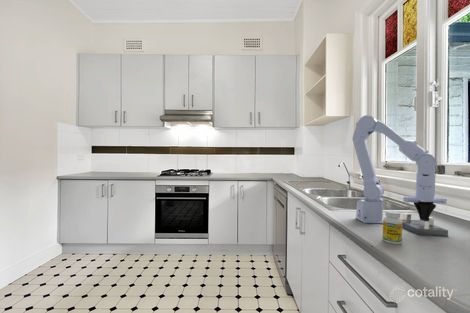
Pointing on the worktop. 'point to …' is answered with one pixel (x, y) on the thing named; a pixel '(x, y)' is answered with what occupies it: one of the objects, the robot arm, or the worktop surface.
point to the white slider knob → (431, 221)
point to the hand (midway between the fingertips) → (423, 221)
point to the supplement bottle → (392, 228)
